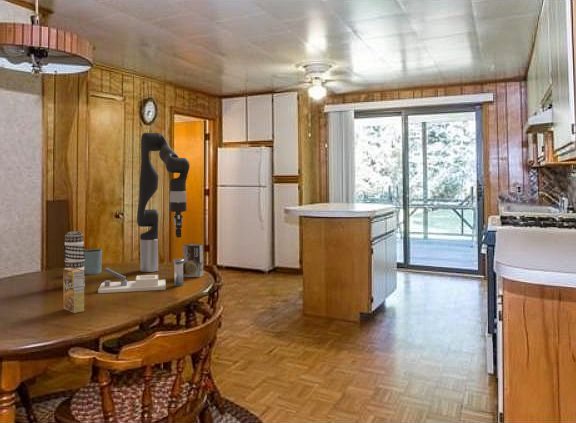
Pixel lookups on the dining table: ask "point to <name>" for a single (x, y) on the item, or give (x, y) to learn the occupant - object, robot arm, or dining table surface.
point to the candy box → (73, 289)
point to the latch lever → (115, 273)
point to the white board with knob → (133, 285)
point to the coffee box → (193, 260)
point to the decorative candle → (74, 250)
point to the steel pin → (178, 272)
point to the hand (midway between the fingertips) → (178, 236)
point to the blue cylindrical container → (92, 261)
